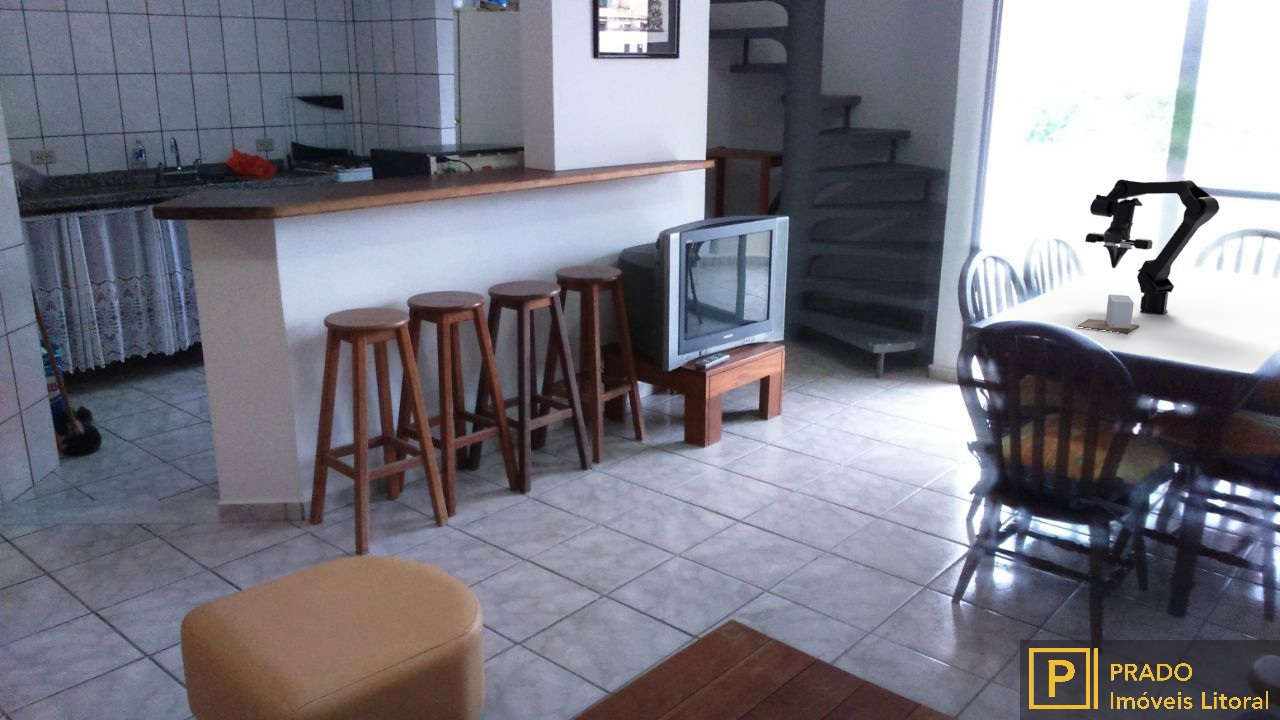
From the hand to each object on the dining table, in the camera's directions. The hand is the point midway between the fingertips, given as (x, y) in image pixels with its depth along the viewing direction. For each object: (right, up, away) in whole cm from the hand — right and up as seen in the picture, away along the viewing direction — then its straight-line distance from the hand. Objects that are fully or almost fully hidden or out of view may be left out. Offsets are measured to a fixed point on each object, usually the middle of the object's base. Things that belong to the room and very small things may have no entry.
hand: (1113, 267), depth 317 cm
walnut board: (-15, -20, -28) cm, 38 cm away
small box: (-10, -14, -24) cm, 29 cm away
